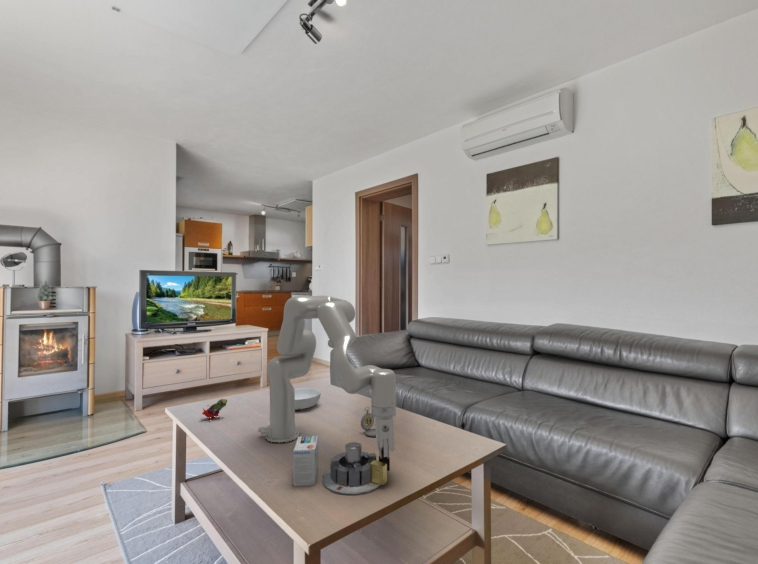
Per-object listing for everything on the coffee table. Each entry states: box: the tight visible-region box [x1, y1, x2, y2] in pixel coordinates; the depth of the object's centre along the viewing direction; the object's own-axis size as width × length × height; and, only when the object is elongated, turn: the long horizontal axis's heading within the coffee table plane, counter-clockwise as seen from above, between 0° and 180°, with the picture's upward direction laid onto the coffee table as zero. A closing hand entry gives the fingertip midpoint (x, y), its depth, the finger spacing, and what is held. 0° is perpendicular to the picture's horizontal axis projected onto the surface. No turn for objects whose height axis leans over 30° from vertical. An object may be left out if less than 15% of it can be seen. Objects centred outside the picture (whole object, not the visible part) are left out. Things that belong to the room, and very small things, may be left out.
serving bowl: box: [293, 387, 322, 411], centre depth 189 cm, size 21×21×7 cm
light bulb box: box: [292, 435, 319, 487], centre depth 119 cm, size 11×7×11 cm, turn 5°
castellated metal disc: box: [329, 451, 388, 486], centre depth 118 cm, size 17×14×5 cm
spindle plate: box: [321, 441, 383, 496], centre depth 118 cm, size 19×19×10 cm
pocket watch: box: [360, 406, 376, 437], centre depth 154 cm, size 8×8×10 cm
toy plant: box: [202, 398, 228, 419], centre depth 171 cm, size 8×10×12 cm
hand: (384, 469), depth 119 cm, fingers closed
